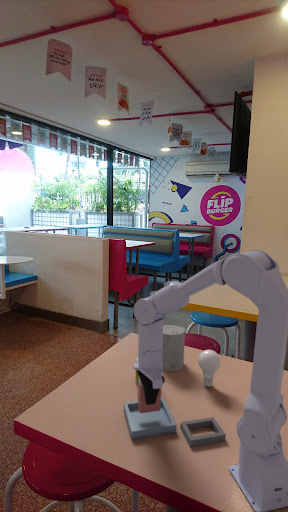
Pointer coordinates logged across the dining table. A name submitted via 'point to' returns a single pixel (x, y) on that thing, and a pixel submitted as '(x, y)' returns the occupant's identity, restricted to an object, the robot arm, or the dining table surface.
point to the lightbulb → (209, 365)
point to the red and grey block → (142, 402)
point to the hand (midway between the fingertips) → (149, 399)
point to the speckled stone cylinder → (173, 347)
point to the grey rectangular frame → (202, 439)
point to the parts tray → (149, 421)
